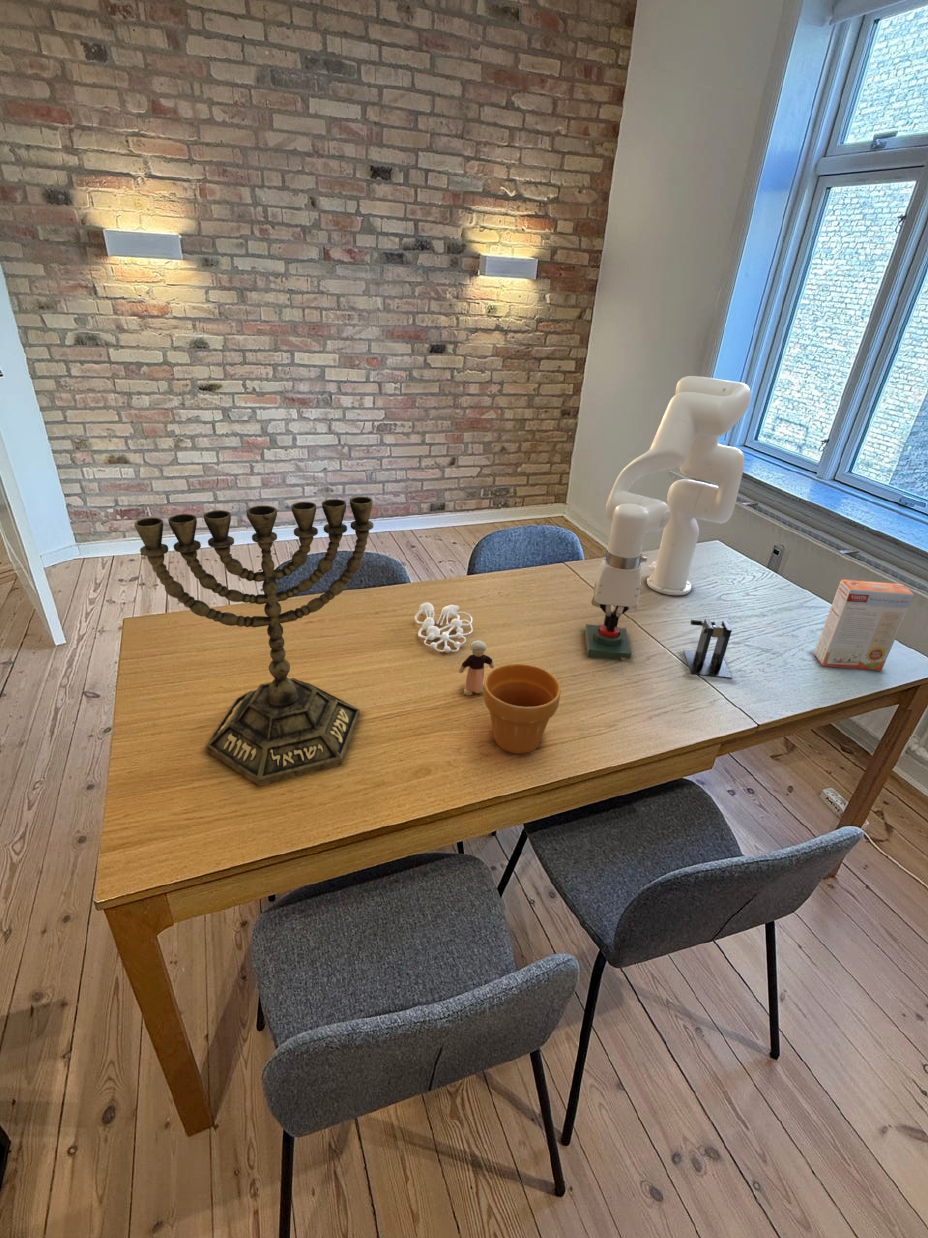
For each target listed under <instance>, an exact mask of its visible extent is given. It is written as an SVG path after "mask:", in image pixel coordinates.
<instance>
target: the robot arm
mask: <svg viewBox="0 0 928 1238" xmlns="http://www.w3.org/2000/svg"><path fill="white" fill-rule="evenodd" d="M751 399H752V392H751V389H750V387H749V386H748V384H746V383H744V382H739V381H732V380H725V379H718V378H713V377H706V376H699V375H687V376H683V377H682V378H680V379H679V380H678V381H677V384H676V386H675V395H673V397H671V399H670V401H669V402H668V405H667V407H666V409H665V411H664V413H663V416H662V419H661V421H660V423H659V426H658V429H657V431H656V433H655V435H654V438H653V440H652V442H651V445H650V447H649V449H648V450H647V451H645V452H644V453H642V454H641V455H639V456H638V457H636V458H635V459H633V460H632V461H631V462H629V463H628V464H627V465H626V466H625V467H624V468H623V469H622V470H621V472H620V473H619V474H618V475H617V476H616V477H617V478H616V479H615V482H614V484H613V486H612V488H611V490H610V494H609V495H608V499H607V501H606V504H605V516H606V518H607V519H608V521H610V522H611V526H610V530H609V538H608V543H607V548H606V549H607V550H606V555H605V558H604V559H602V560H601V562H600V564H599V567H598V570H597V574H596V577H595V581H594V587H593V597H592V599H591V606H592V607H595V608H599V609H601V611H602V612H603V613H604V614H605V615H604V619H603V624H604V626H606V628H607V631H610V630H611V631H613V632H614V628H615V627H618V624H619V619H620V618H621V616H622V615H623V614H625V613H626V612H628V611H634V610H635V611H636V610H638V603H639V599H640V594H641V586H642V585H641V584H642V563H646V562H647V560H648V556H647V555H644V554H643V553H642V552H643V547H644V542H645V537H646V536H648V535H652V534H656V533H659V532H660V531H661V530H662V531H663V532H662V536H661V541H660V545H659V549H658V553H657V558H656V560H654V561H652V562H651V563H650V564H649V565H648V566H647V569H648V570H650V571H651V575H650V574H649V576H648V577H647V579H646V584H647V586H648V587H649V588H650V589H651V590H653V591H655V592H657V593H659V594H663V595H668V596H684V595H688V594H689V593H690V592H691V590H692V583H691V582H690V581H689V576H690V572H691V568H692V564H693V560H694V555H695V552H696V548H697V543H698V539H699V534H700V529H699V525H698V522H697V520H701V521H705V522H708V523H714V524H725V523H727V522H728V521H729V520H730V519H731V517H732V515H733V513H734V510H735V506H736V502H737V498H738V495H739V491H740V486H741V482H742V478H743V474H744V468H745V462H746V461H745V454H744V452H743V451H742V450H741V449H740V448H737V447H736V446H735V447H734V446H730V445H724V444H721V443H720V442H719V438H720V437H721V436H725V435H726V434H727V433H728V432H729V431H730V430H732V428H733V427H735V425H736V424H737V423H738V422H739V421H740V420H741V419H742V418H743V417H744V415H745V414H746V412H747V411H748V408H749V406H750V404H751ZM678 468H679V471H680V473H681V474H682V475H684V476H686V477H688V478H687V479H686V478H683V479H677V480H675V481H674V482H673V483H672V484H671V485H670V486H669V489H668V490H667V491H668V492H667V497H666V502H665V501H663V500H661V499H657V498H653V497H650V496H649V497H648V496H645V495H641V494H638V493H633V492H629V490H630V488H631V487H632V486H633V485H634V483H636V482H637V481H638V480H639V479H642V478H643V477H646V476H647V475H651V474H654V473H659V472H663V471H668V470H673V469H678ZM689 478H692V479H689ZM694 479H696V480H694ZM698 480H699V481H698ZM700 480H701V481H700ZM703 481H705V482H703ZM708 482H709V483H708ZM711 483H713V484H711ZM714 483H715V484H714ZM612 606H615V608H614V610H613V611H612Z"/></svg>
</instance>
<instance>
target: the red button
mask: <svg viewBox="0 0 928 1238" xmlns="http://www.w3.org/2000/svg"><path fill="white" fill-rule="evenodd" d="M602 624H603V625H602ZM602 624H600V625H601V626H600V631H599V633H600V634H601V635H602V636H605V637H609V638H615V637H618V635H619V628H620V627H619V626H617V627H615V628H614V632H613V631H611V630H610V631H607V628H606V626H604V623H602ZM618 627H619V628H618Z"/></svg>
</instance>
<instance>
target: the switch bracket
mask: <svg viewBox="0 0 928 1238" xmlns="http://www.w3.org/2000/svg"><path fill="white" fill-rule="evenodd" d="M703 621H704V624H703V626H702V628H701V631H700V635H699V639H698V643H697V647H696V650H695V651H694V650H683V654H684V658H685V660H686V661H685V662H686V663H687V666H688V669H689V671H690V675H692V676H702V677H710V678H719V679H729V680H732V679H733V677H732V674H731V672H730V669H729V667H728V665H727V663H726V662H725V659H724V658H725V655H726V651H727V648H728V644H729V642H730V638H731V636H732V628H731V626H730V624H729V622H728V620H722V622H721V625H720V626H722V627H723V628H724V630H723V636H722V638H716V642H715V646H714V650H713V652H708V649H709V647H710V642H711V639H712V632H713V626H712V624H711V622H710V621H711V620H710V619H709V618H704V620H703Z"/></svg>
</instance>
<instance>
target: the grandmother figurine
mask: <svg viewBox="0 0 928 1238" xmlns="http://www.w3.org/2000/svg"><path fill="white" fill-rule="evenodd" d="M487 649H488V647H487V644H486V643H485V642H484V641H482V640H480V639H477V640H473V641H472V643H471V644H470V650H471V653H472V654H470V655H468V656H467V658H466V659H465V660H464V661H463V662H462V663H461V665H460V668H459V669H458V672H459V673H460V674H462V673H464V671H465V670H466V668H468V669H467V674H466V678H465V686H464V689H463V695H464V696H470V697H471V696H472V695H474V694H477V695H483V694H484V688H483V686H484V680H485V678H484V677H485V664H486V665H488V667H489V668H490V669H495V664H494V662H493V659H492V658H491V657H490V656H489V655H486V654H485V651H487Z"/></svg>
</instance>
